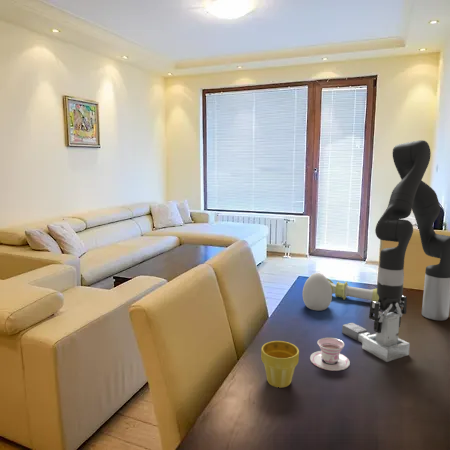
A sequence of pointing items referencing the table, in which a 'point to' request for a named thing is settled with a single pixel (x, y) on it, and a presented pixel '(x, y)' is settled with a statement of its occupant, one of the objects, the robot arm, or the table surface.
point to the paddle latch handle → (376, 343)
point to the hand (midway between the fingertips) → (386, 329)
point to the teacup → (330, 355)
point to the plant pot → (279, 362)
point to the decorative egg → (317, 292)
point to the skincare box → (389, 330)
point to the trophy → (353, 291)
